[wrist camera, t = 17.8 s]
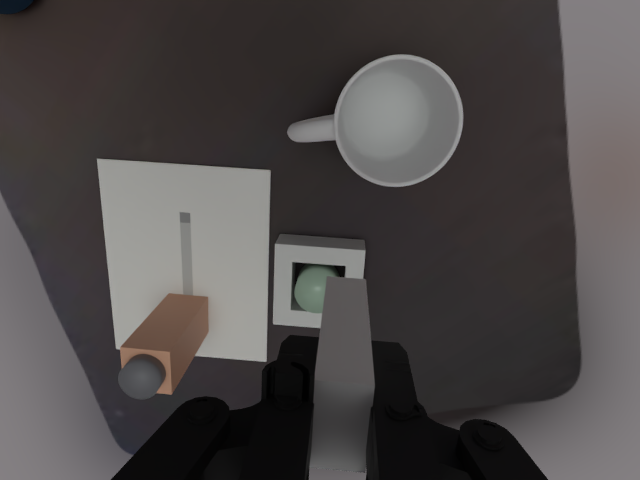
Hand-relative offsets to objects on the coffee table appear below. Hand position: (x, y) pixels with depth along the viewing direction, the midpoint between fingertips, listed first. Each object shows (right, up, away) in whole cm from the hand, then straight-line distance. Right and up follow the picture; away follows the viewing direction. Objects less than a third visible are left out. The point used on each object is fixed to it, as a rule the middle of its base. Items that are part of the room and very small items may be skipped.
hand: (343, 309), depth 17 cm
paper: (-14, 0, +27) cm, 30 cm away
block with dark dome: (-14, -5, +28) cm, 32 cm away
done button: (-1, -1, +25) cm, 25 cm away
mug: (+3, +13, +21) cm, 25 cm away
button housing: (-1, -1, +26) cm, 26 cm away
